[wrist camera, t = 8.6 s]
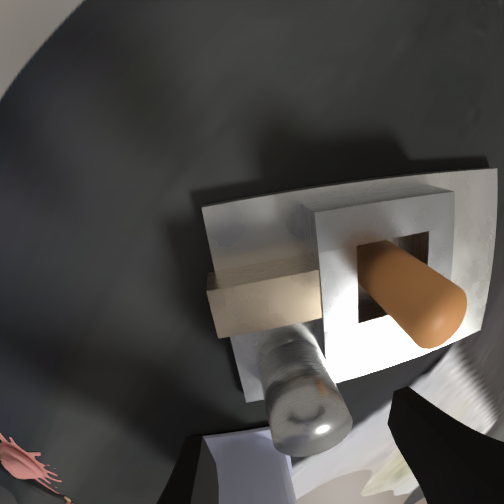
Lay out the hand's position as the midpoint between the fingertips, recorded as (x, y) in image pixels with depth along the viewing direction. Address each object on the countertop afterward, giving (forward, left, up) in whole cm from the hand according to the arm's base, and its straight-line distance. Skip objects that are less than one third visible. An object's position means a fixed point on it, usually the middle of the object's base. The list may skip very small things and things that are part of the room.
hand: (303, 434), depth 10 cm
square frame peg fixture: (+2, -4, -9) cm, 10 cm away
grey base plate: (0, -8, -10) cm, 13 cm away
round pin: (+2, -7, -9) cm, 12 cm away
